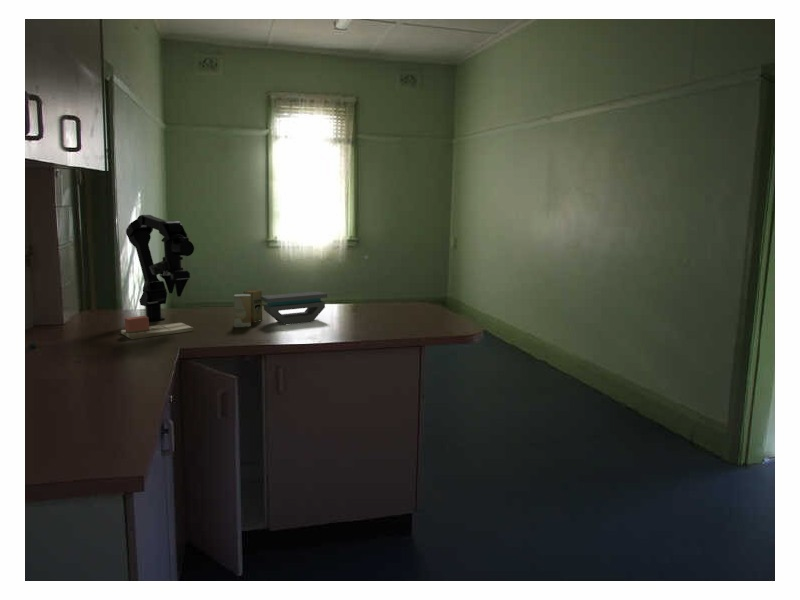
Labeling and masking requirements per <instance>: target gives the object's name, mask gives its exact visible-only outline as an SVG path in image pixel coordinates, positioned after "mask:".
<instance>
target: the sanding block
mask: <svg viewBox="0 0 800 600" xmlns="http://www.w3.org/2000/svg"><path fill="white" fill-rule="evenodd" d="M149 326H150V321H149V317H147V316H146V315H139V316H133V317H132V316H131V317H124V327H125V329H124V330H126V332H127V333H129V334H131V333H138V332H146V331H149Z"/></svg>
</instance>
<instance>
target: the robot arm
mask: <svg viewBox="0 0 800 600" xmlns="http://www.w3.org/2000/svg"><path fill="white" fill-rule="evenodd" d="M154 230H156V231H158V233H159V234H160V235H161V236H162V237H163V238H162V239H161V242H163V248H164V249H163V251H164V256H162V259H161V260H162V261H159V262H156V263H154V261H153V256H152V253H151V249H150V246H149V245H150V241H151V238H152V237H151V234H152V233H153V231H154ZM125 234H126V236H127V238H128V241H129V243H130V244H131V245H132V246H133V247H134V248H135V250H136V251H135V252H136V253H137V257H138V260H139V261H138V262H139V265H140V269H141V272H142V277H143V280H144V284H143V287H142V294H141V296H140V298H139V305H140V306H142V307H145V316H147V317H149V322H153V321H162V320H165V317H162V316H163V315H162V305H164V304H165V305H166V303H167V298H168V293H169V294H173V292H174V289H175V291H176V296H177V297H178V298H179V297H181V296H182V293H183V292H184V288H186V285H187V283H188V281H189V280H190V278H191V273H190V271H188V270H187V269H184V267H182V260H184V259H183V257H189V256H191V255H192V254H193V253H194V252H195V251H194V250H195V246H194V244H193V243H192V241H190V238H189V237H188V233H187V232H186V231H185V228H184V226H183V224H182V223H181V221H180V220H167V219H163V218H160V217H157V216H153V215H152V214H141V215H138V217H137V218H136V219H134V220H133V221H131V222H129V224H128V226H127V228H126V231H125ZM158 275H159V276H160V278H162V279H163V280H164V281H163V280H160V279H159V278H158ZM165 285H166V286H165Z"/></svg>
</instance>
